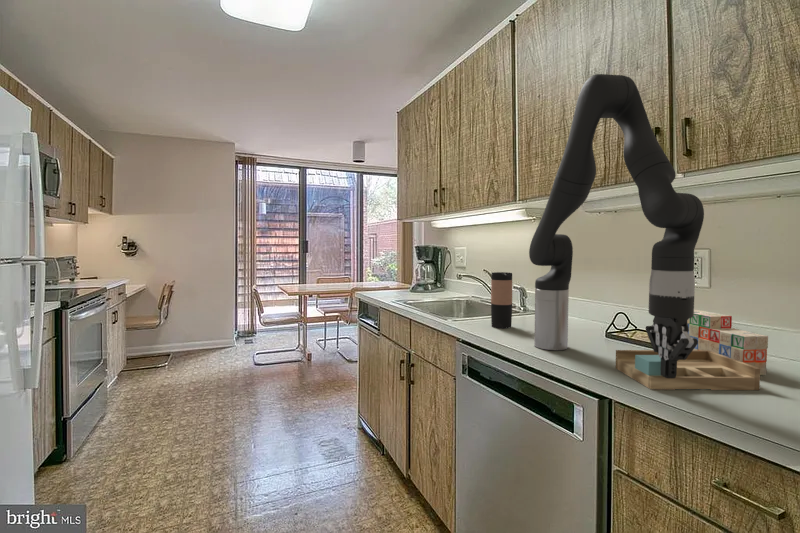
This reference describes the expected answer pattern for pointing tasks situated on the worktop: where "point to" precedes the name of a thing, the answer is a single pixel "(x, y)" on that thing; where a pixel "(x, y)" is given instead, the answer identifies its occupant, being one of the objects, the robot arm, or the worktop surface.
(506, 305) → the travel mug
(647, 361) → the block
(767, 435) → the worktop surface
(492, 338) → the worktop surface
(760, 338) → the stack of blocks
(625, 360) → the board
